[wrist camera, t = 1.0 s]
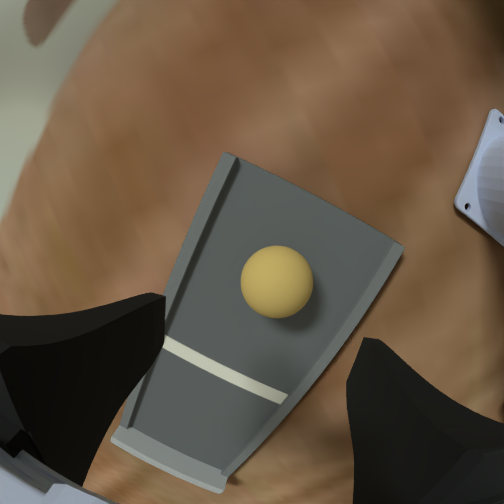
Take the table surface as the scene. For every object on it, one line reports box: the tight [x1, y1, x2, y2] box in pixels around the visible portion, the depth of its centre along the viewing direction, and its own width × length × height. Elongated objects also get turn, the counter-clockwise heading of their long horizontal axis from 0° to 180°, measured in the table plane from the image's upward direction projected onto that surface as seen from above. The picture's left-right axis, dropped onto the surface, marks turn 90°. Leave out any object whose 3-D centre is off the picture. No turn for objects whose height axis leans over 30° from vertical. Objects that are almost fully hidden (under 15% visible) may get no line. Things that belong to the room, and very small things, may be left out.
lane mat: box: [111, 152, 405, 494], centre depth 21 cm, size 12×28×3 cm, turn 154°
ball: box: [241, 246, 313, 318], centre depth 17 cm, size 4×4×4 cm
